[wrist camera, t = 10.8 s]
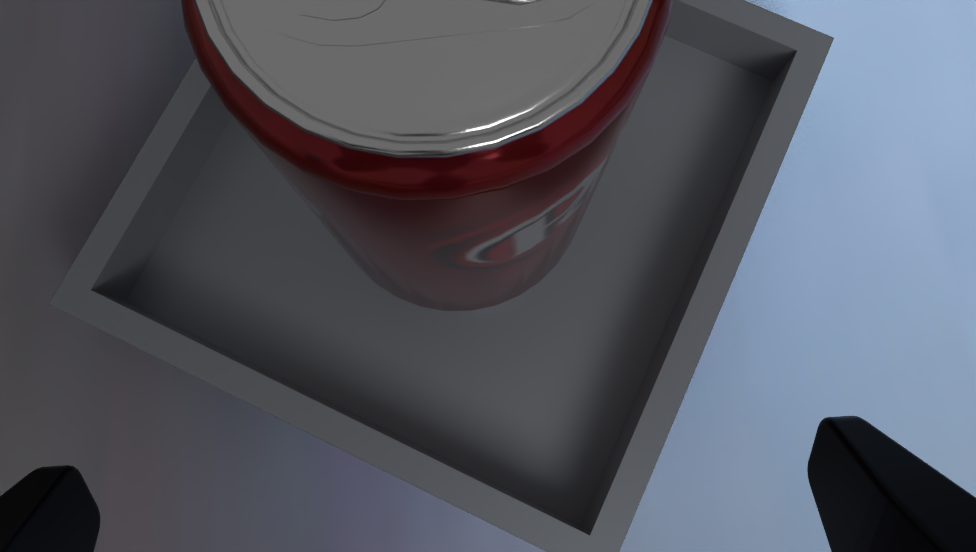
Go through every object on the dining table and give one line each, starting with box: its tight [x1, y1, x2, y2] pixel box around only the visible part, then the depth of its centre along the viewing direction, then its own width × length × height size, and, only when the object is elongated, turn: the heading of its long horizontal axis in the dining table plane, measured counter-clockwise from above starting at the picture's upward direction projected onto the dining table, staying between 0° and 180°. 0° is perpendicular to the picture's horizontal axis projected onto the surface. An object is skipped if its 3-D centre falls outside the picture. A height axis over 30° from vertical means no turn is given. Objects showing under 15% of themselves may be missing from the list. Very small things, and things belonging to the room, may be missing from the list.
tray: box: [49, 0, 834, 552], centre depth 21 cm, size 16×16×2 cm
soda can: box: [181, 0, 673, 311], centre depth 16 cm, size 7×7×12 cm
